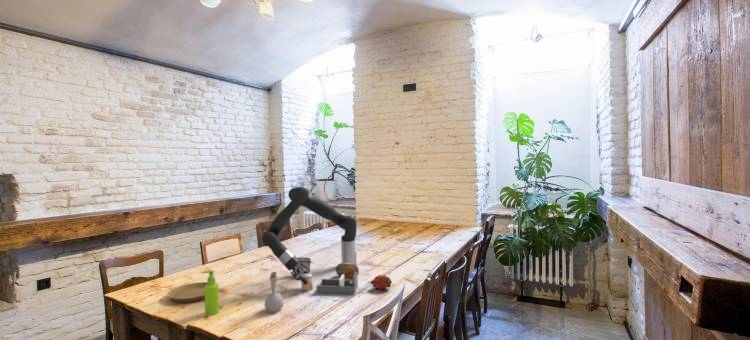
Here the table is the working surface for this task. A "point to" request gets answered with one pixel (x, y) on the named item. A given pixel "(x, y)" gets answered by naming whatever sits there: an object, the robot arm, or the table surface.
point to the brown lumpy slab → (347, 270)
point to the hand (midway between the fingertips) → (309, 280)
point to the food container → (305, 262)
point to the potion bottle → (273, 297)
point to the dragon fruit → (381, 282)
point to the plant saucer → (188, 292)
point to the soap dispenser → (211, 295)
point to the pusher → (341, 281)
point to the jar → (310, 282)
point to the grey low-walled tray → (333, 286)
